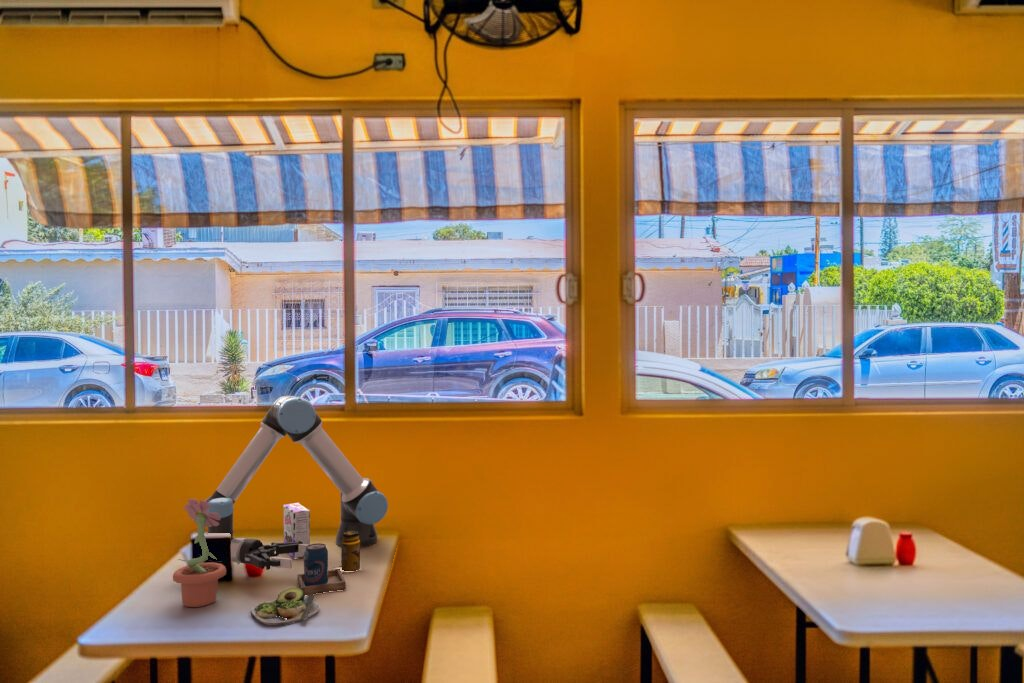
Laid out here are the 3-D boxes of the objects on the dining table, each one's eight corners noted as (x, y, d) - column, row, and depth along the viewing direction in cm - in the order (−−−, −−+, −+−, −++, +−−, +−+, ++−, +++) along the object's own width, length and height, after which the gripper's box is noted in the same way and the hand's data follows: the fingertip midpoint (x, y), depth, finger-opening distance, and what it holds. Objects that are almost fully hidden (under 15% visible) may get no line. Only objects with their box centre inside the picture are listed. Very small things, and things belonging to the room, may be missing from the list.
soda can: (302, 591, 194) (302, 550, 194) (305, 582, 200) (305, 543, 201) (327, 589, 195) (326, 548, 195) (328, 581, 202) (328, 542, 202)
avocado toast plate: (334, 618, 177) (334, 601, 177) (266, 636, 166) (266, 617, 166) (309, 597, 192) (309, 581, 192) (245, 612, 181) (245, 595, 181)
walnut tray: (339, 576, 208) (339, 568, 208) (345, 590, 197) (345, 581, 197) (297, 582, 203) (297, 574, 203) (301, 596, 192) (301, 587, 192)
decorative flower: (240, 597, 191) (239, 494, 192) (203, 615, 178) (202, 504, 179) (200, 591, 196) (200, 490, 197) (161, 608, 183) (161, 500, 184)
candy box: (282, 549, 237) (282, 504, 237) (299, 547, 240) (299, 501, 240) (293, 560, 225) (293, 511, 226) (310, 556, 229) (310, 509, 229)
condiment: (364, 570, 215) (364, 533, 215) (339, 575, 210) (338, 537, 210) (356, 564, 221) (356, 528, 221) (331, 568, 216) (331, 532, 216)
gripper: (271, 551, 219) (326, 556, 213) (217, 576, 196) (278, 582, 189) (271, 528, 220) (326, 533, 213) (217, 550, 196) (278, 556, 190)
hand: (304, 556), depth 201 cm, fingers open, 13 cm apart
